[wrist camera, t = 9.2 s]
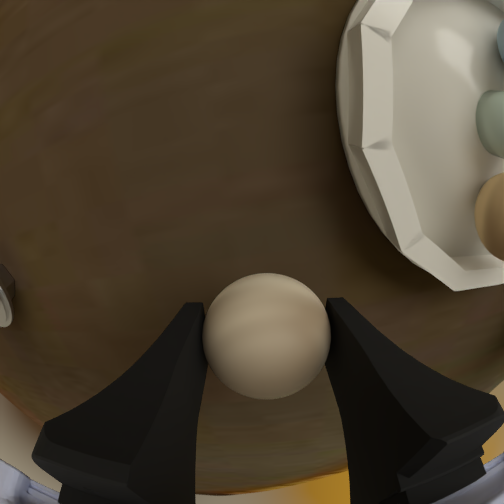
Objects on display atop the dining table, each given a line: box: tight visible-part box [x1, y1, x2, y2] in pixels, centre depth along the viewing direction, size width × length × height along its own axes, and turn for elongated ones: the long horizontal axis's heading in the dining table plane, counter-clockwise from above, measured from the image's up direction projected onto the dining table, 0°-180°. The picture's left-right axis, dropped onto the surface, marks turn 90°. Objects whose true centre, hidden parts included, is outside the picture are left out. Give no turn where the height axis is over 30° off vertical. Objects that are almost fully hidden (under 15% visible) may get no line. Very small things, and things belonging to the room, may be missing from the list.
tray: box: [335, 0, 504, 291], centre depth 9 cm, size 18×18×3 cm
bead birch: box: [202, 273, 331, 399], centre depth 10 cm, size 4×4×4 cm
